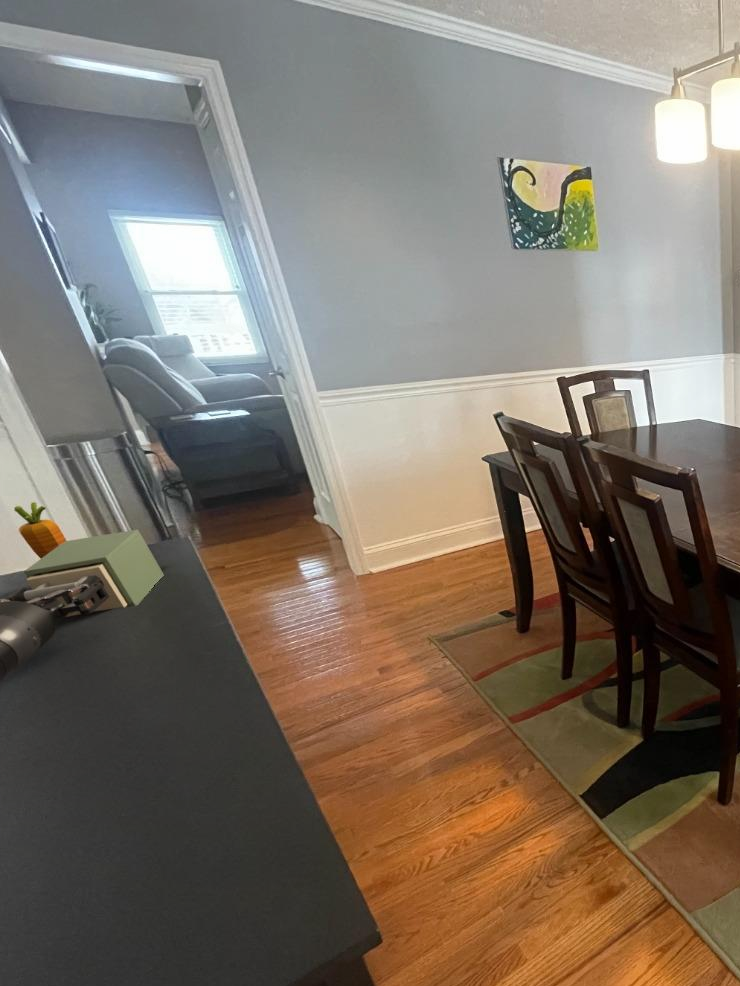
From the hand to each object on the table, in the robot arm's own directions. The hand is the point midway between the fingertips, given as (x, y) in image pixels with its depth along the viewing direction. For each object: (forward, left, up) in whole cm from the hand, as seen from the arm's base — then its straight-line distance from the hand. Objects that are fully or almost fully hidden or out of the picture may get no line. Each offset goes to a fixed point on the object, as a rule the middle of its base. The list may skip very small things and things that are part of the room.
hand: (61, 587), depth 94 cm
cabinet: (-2, +10, -7) cm, 12 cm away
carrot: (-16, +22, -7) cm, 29 cm away
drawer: (-1, +5, -6) cm, 8 cm away
